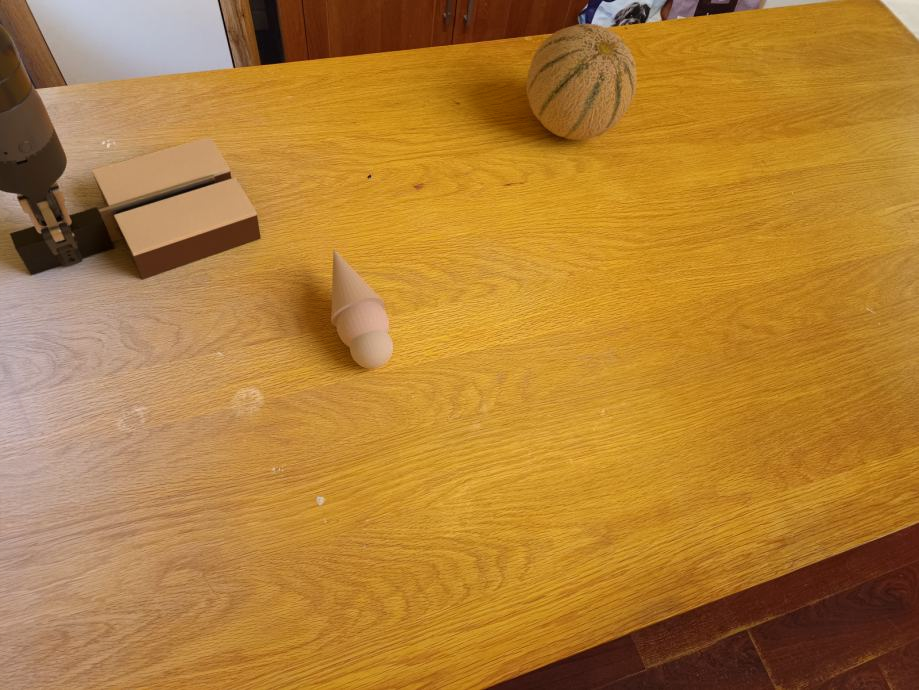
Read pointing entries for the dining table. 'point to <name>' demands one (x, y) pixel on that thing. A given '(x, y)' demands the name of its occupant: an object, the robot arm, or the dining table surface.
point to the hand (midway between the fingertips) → (68, 252)
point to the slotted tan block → (178, 207)
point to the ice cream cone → (359, 316)
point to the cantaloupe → (581, 81)
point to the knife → (92, 228)
